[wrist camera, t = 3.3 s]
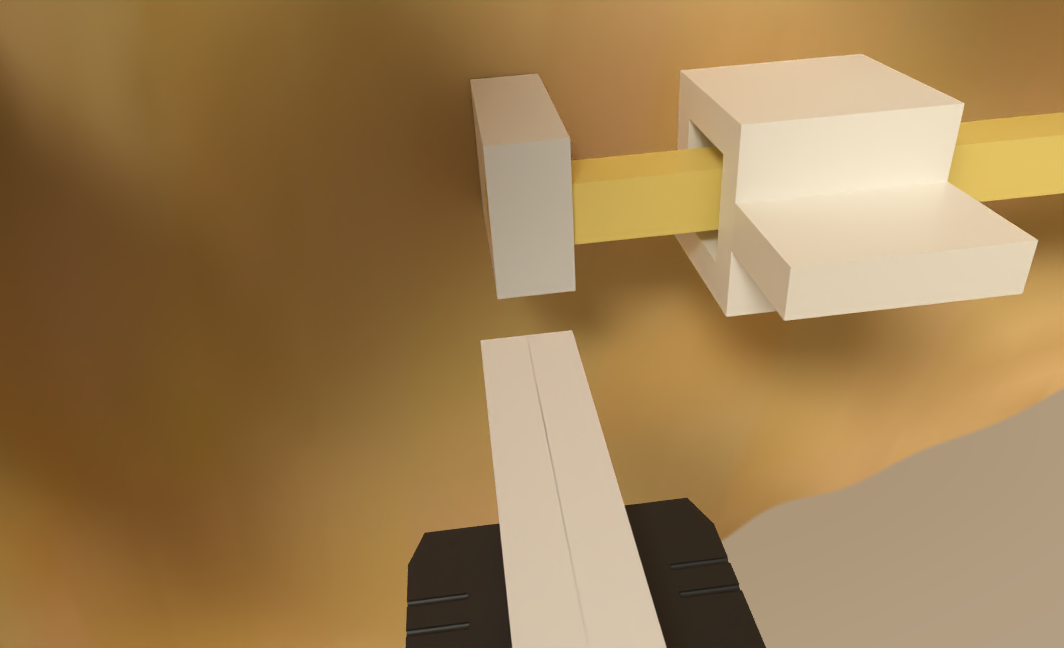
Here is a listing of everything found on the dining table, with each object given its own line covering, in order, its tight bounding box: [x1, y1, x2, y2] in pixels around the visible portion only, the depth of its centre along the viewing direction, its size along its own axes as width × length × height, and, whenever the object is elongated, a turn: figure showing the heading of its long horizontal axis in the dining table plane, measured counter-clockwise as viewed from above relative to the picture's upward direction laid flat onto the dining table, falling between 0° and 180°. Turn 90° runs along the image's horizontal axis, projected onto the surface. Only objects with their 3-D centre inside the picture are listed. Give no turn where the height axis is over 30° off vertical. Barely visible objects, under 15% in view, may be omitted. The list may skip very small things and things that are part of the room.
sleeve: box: [674, 54, 1038, 321], centre depth 19 cm, size 5×5×8 cm
